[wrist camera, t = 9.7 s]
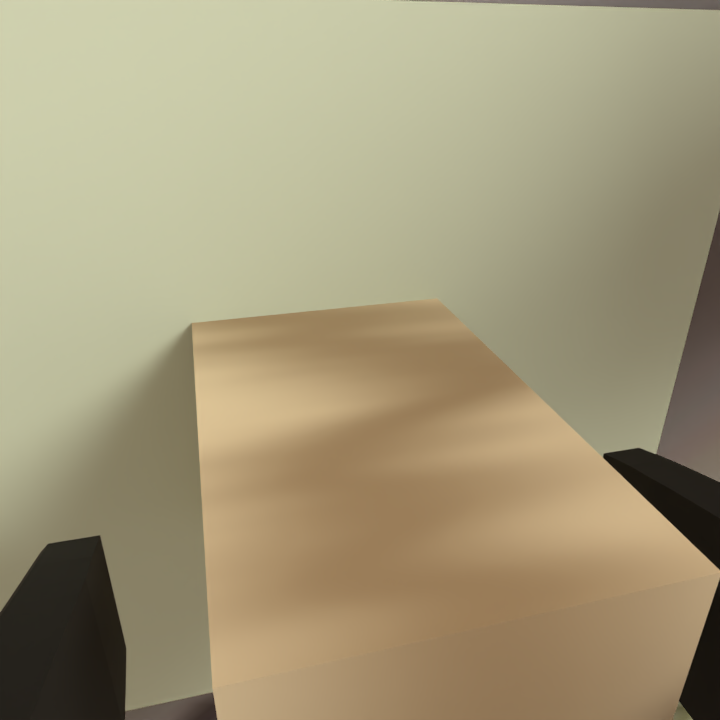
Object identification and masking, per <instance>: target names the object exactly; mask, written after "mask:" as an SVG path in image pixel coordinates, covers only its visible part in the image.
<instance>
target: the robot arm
mask: <svg viewBox="0 0 720 720" xmlns="http://www.w3.org/2000/svg"><path fill="white" fill-rule="evenodd" d="M603 458H604V459H605V460H606V461H607V462H608V463H609V464H610V465H611V466H612V467H613V468H614V469H615V470H616V471H617V472H618V473H619V474H620V475H621V476H622V477H623V478H624V479H626V480H627V481H628V482H629V483H630V484H631V485H632V486H633V487H634V488H635V489H636V490H637V491H638V492H639V493H640V494H641V495H642V496H643V497H644V498H645V499H646V500H647V501H648V502H649V503H650V504H652V505H653V506H654V507H655V508H656V509H657V510H658V511H659V512H660V513H661V514H662V515H663V516H664V517H665V518H666V519H667V520H668V521H669V522H670V523H671V524H672V525H673V526H674V527H675V528H677V529H678V530H679V531H680V532H681V533H682V534H683V535H684V536H685V537H686V538H687V539H688V540H689V541H690V542H691V543H692V544H693V545H694V546H695V547H696V548H697V549H698V550H699V551H700V552H701V553H703V554H704V555H705V556H706V557H707V558H708V559H709V560H710V561H711V562H712V563H713V564H714V565H715V566H716V567H717V568H718V569H719V570H720V482H717V481H715V480H713V479H711V478H709V477H707V476H705V475H702V474H700V473H698V472H696V471H694V470H691V469H689V468H687V467H685V466H682V465H680V464H678V463H676V462H673V461H671V460H669V459H666V458H664V457H662V456H659V455H657V454H654V453H652V452H649V451H646V450H644V449H641V448H634V449H628V450H622V451H615V452H609V453H604V454H603ZM125 698H126V644H125V640H124V636H123V631H122V627H121V623H120V619H119V614H118V610H117V606H116V601H115V597H114V593H113V588H112V584H111V580H110V576H109V571H108V567H107V563H106V558H105V554H104V550H103V545H102V541H101V537H100V535H98V536H92V537H86V538H80V539H74V540H67V541H61V542H55V543H49V544H47V545H46V547H45V548H44V549H43V550H42V551H41V552H40V554H39V555H38V557H37V558H36V560H35V561H34V563H33V564H32V566H31V567H30V569H29V570H28V572H27V573H26V575H25V576H24V578H23V579H22V581H21V582H20V584H19V585H18V587H17V588H16V590H15V591H14V593H13V594H12V596H11V597H10V599H9V600H8V602H7V603H6V605H5V606H4V608H3V609H2V611H1V612H0V720H125ZM679 701H680V703H681V704H682V705H683V707H684V708H685V709H686V711H687V712H688V713H689V715H690V716H691V717H692V719H693V720H720V579H719V582H718V585H717V588H716V591H715V594H714V597H713V600H712V603H711V606H710V609H709V612H708V615H707V618H706V621H705V624H704V627H703V630H702V633H701V636H700V639H699V642H698V645H697V648H696V651H695V654H694V657H693V660H692V663H691V666H690V669H689V672H688V675H687V678H686V681H685V684H684V687H683V690H682V693H681V696H680V699H679Z"/></svg>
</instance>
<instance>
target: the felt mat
mask: <svg viewBox="0 0 720 720" xmlns="http://www.w3.org/2000/svg"><path fill="white" fill-rule="evenodd" d="M719 211H720V10H696V9H663V8H629V7H596V6H563V5H530V4H496V3H463V2H430V1H396V0H0V612H1V611H2V609H3V608H4V606H5V605H6V603H7V602H8V600H9V599H10V597H11V596H12V594H13V593H14V591H15V590H16V588H17V587H18V585H19V584H20V582H21V581H22V579H23V578H24V576H25V575H26V573H27V572H28V570H29V569H30V567H31V566H32V564H33V563H34V561H35V560H36V558H37V557H38V555H39V554H40V552H41V551H42V550H43V549H44V548H45V547H46V545H47V544H49V543H55V542H61V541H67V540H74V539H80V538H86V537H92V536H98V535H100V537H101V541H102V545H103V550H104V554H105V558H106V563H107V567H108V571H109V576H110V580H111V584H112V588H113V593H114V597H115V601H116V606H117V610H118V614H119V619H120V623H121V627H122V631H123V636H124V640H125V644H126V698H125V711H129V710H134V709H139V708H143V707H148V706H152V705H157V704H161V703H166V702H170V701H175V700H180V699H184V698H189V697H193V696H198V695H202V694H207V693H212V692H213V689H212V672H211V654H210V637H209V619H208V602H207V584H206V567H205V549H204V532H203V514H202V497H201V479H200V461H199V444H198V426H197V409H196V391H195V374H194V356H193V339H192V323H197V322H207V321H217V320H227V319H237V318H247V317H257V316H267V315H277V314H287V313H297V312H307V311H316V310H326V309H336V308H346V307H356V306H366V305H376V304H386V303H396V302H406V301H416V300H426V299H436V298H437V299H438V300H439V301H440V302H441V303H442V304H443V305H445V306H446V307H447V308H448V309H449V310H450V311H451V312H452V313H453V314H454V315H455V316H456V317H457V318H458V319H459V320H460V321H461V322H462V323H463V324H464V325H465V326H466V327H467V328H468V329H470V330H471V331H472V332H473V333H474V334H475V335H476V336H477V337H478V338H479V339H480V340H481V341H482V342H483V343H484V344H485V345H486V346H487V347H488V348H489V349H490V350H491V351H492V352H493V353H494V354H496V355H497V356H498V357H499V358H500V359H501V360H502V361H503V362H504V363H505V364H506V365H507V366H508V367H509V368H510V369H511V370H512V371H513V372H514V373H515V374H516V375H517V376H518V377H519V378H520V379H522V380H523V381H524V382H525V383H526V384H527V385H528V386H529V387H530V388H531V389H532V390H533V391H534V392H535V393H536V394H537V395H538V396H539V397H540V398H541V399H542V400H543V401H544V402H545V403H546V404H548V405H549V406H550V407H551V408H552V409H553V410H554V411H555V412H556V413H557V414H558V415H559V416H560V417H561V418H562V419H563V420H564V421H565V422H566V423H567V424H568V425H569V426H570V427H571V428H572V429H574V430H575V431H576V432H577V433H578V434H579V435H580V436H581V437H582V438H583V439H584V440H585V441H586V442H587V443H588V444H589V445H590V446H591V447H592V448H593V449H594V450H595V451H596V452H597V453H598V454H600V455H601V456H602V457H603V454H604V453H609V452H615V451H622V450H628V449H634V448H641V449H644V450H646V451H649V452H652V453H654V454H656V453H657V449H658V445H659V442H660V438H661V434H662V430H663V426H664V422H665V418H666V415H667V411H668V407H669V403H670V399H671V395H672V392H673V388H674V384H675V380H676V376H677V372H678V369H679V365H680V361H681V357H682V353H683V349H684V346H685V342H686V338H687V334H688V330H689V326H690V323H691V319H692V315H693V311H694V307H695V303H696V299H697V296H698V292H699V288H700V284H701V280H702V276H703V273H704V269H705V265H706V261H707V257H708V253H709V250H710V246H711V242H712V238H713V234H714V230H715V227H716V223H717V219H718V215H719Z"/></svg>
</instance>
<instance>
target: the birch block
mask: <svg viewBox="0 0 720 720" xmlns="http://www.w3.org/2000/svg"><path fill="white" fill-rule="evenodd" d="M192 339H193V356H194V374H195V391H196V409H197V426H198V444H199V461H200V479H201V497H202V514H203V532H204V549H205V567H206V584H207V602H208V619H209V637H210V654H211V672H212V689H213V695H214V701H215V707H216V713H217V719H218V720H673V717H674V714H675V711H676V708H677V705H678V702H679V699H680V696H681V693H682V690H683V687H684V684H685V681H686V678H687V675H688V672H689V669H690V666H691V663H692V660H693V657H694V654H695V651H696V648H697V645H698V642H699V639H700V636H701V633H702V630H703V627H704V624H705V621H706V618H707V615H708V612H709V609H710V606H711V603H712V600H713V597H714V594H715V591H716V588H717V585H718V582H719V579H720V570H719V569H718V568H717V567H716V566H715V565H714V564H713V563H712V562H711V561H710V560H709V559H708V558H707V557H706V556H705V555H704V554H703V553H701V552H700V551H699V550H698V549H697V548H696V547H695V546H694V545H693V544H692V543H691V542H690V541H689V540H688V539H687V538H686V537H685V536H684V535H683V534H682V533H681V532H680V531H679V530H678V529H677V528H675V527H674V526H673V525H672V524H671V523H670V522H669V521H668V520H667V519H666V518H665V517H664V516H663V515H662V514H661V513H660V512H659V511H658V510H657V509H656V508H655V507H654V506H653V505H652V504H650V503H649V502H648V501H647V500H646V499H645V498H644V497H643V496H642V495H641V494H640V493H639V492H638V491H637V490H636V489H635V488H634V487H633V486H632V485H631V484H630V483H629V482H628V481H627V480H626V479H624V478H623V477H622V476H621V475H620V474H619V473H618V472H617V471H616V470H615V469H614V468H613V467H612V466H611V465H610V464H609V463H608V462H607V461H606V460H605V459H604V458H603V457H602V456H601V455H600V454H598V453H597V452H596V451H595V450H594V449H593V448H592V447H591V446H590V445H589V444H588V443H587V442H586V441H585V440H584V439H583V438H582V437H581V436H580V435H579V434H578V433H577V432H576V431H575V430H574V429H572V428H571V427H570V426H569V425H568V424H567V423H566V422H565V421H564V420H563V419H562V418H561V417H560V416H559V415H558V414H557V413H556V412H555V411H554V410H553V409H552V408H551V407H550V406H549V405H548V404H546V403H545V402H544V401H543V400H542V399H541V398H540V397H539V396H538V395H537V394H536V393H535V392H534V391H533V390H532V389H531V388H530V387H529V386H528V385H527V384H526V383H525V382H524V381H523V380H522V379H520V378H519V377H518V376H517V375H516V374H515V373H514V372H513V371H512V370H511V369H510V368H509V367H508V366H507V365H506V364H505V363H504V362H503V361H502V360H501V359H500V358H499V357H498V356H497V355H496V354H494V353H493V352H492V351H491V350H490V349H489V348H488V347H487V346H486V345H485V344H484V343H483V342H482V341H481V340H480V339H479V338H478V337H477V336H476V335H475V334H474V333H473V332H472V331H471V330H470V329H468V328H467V327H466V326H465V325H464V324H463V323H462V322H461V321H460V320H459V319H458V318H457V317H456V316H455V315H454V314H453V313H452V312H451V311H450V310H449V309H448V308H447V307H446V306H445V305H443V304H442V303H441V302H440V301H439V300H438V299H437V298H436V299H426V300H416V301H406V302H396V303H386V304H376V305H366V306H356V307H346V308H336V309H326V310H316V311H307V312H297V313H287V314H277V315H267V316H257V317H247V318H237V319H227V320H217V321H207V322H197V323H192Z"/></svg>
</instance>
